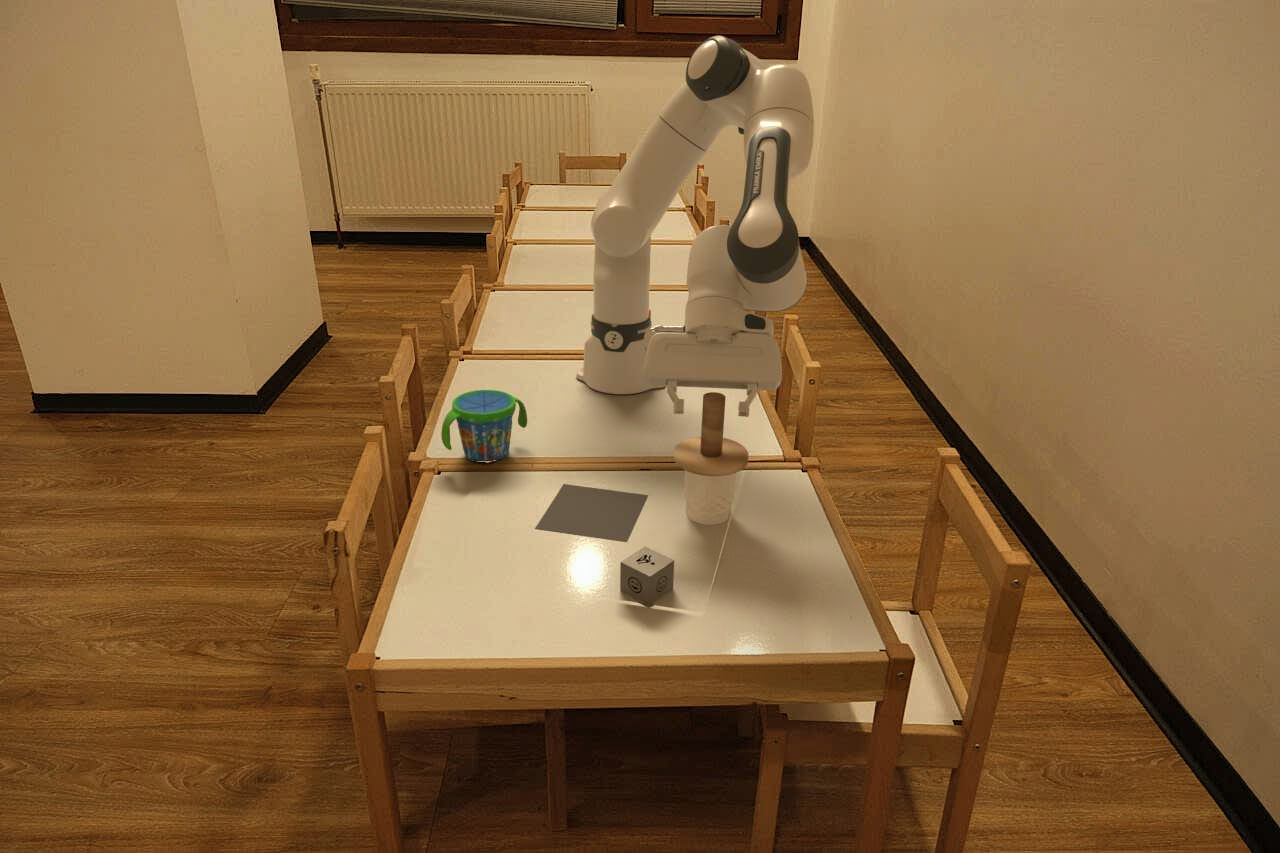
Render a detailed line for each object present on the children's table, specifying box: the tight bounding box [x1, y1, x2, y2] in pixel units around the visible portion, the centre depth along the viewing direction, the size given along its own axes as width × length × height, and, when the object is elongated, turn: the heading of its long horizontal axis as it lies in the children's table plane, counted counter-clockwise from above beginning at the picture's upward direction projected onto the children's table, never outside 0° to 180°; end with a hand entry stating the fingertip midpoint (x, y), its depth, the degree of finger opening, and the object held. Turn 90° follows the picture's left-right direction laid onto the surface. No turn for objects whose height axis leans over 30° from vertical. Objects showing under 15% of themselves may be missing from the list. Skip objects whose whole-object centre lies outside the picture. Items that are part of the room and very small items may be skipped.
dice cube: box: [619, 546, 675, 609], centre depth 118 cm, size 5×5×5 cm
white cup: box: [684, 470, 737, 526], centre depth 135 cm, size 8×8×10 cm
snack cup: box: [440, 389, 528, 462], centre depth 152 cm, size 16×10×10 cm
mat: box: [534, 483, 649, 543], centre depth 137 cm, size 14×14×1 cm
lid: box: [673, 391, 749, 476], centre depth 131 cm, size 11×11×10 cm
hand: (711, 413), depth 130 cm, fingers open, 8 cm apart
